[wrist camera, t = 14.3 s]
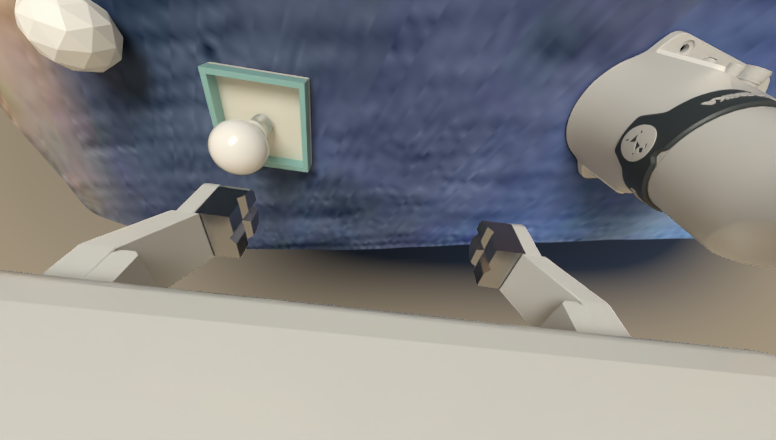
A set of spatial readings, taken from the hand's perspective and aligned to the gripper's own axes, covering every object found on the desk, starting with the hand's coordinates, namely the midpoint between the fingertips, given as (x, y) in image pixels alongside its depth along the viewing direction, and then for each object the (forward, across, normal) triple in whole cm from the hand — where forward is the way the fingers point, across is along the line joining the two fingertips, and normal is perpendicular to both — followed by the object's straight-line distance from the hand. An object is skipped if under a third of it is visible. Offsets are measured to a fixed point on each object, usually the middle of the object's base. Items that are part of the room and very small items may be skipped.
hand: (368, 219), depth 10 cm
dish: (+31, +16, +10) cm, 36 cm away
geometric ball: (+31, +34, +2) cm, 46 cm away
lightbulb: (+31, +16, +10) cm, 36 cm away
